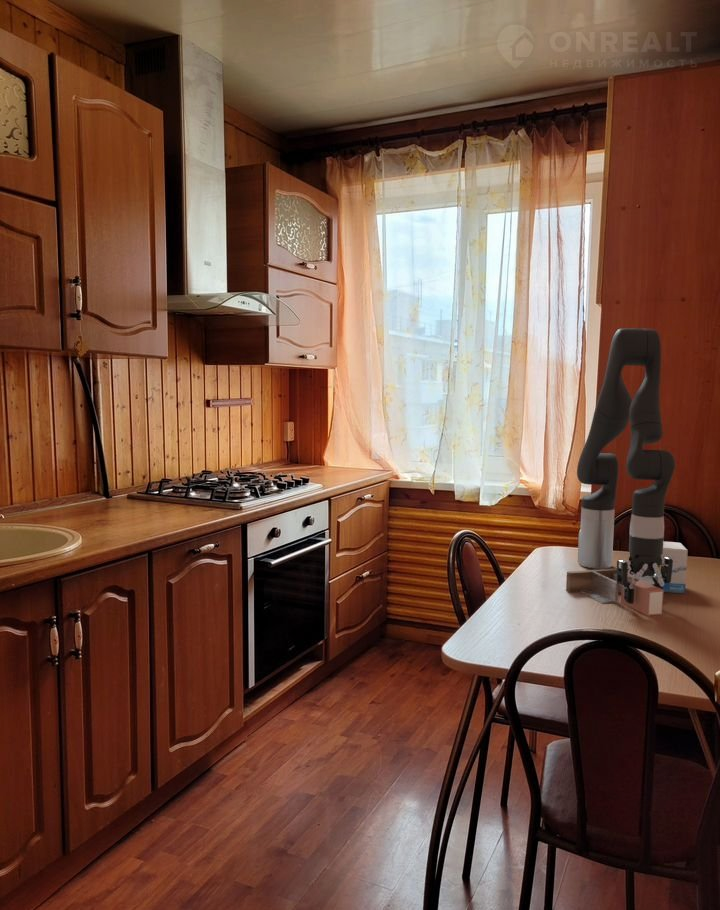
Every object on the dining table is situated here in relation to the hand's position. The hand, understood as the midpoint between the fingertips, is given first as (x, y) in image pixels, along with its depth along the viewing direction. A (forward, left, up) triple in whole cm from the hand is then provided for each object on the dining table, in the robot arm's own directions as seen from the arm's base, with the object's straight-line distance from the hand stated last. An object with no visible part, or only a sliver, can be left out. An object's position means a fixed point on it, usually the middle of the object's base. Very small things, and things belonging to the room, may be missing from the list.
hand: (642, 601), depth 167 cm
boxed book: (-1, 0, -2) cm, 2 cm away
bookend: (-11, -5, -2) cm, 12 cm away
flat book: (-11, +6, -2) cm, 12 cm away
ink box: (-13, +17, -2) cm, 22 cm away
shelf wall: (-16, 0, -2) cm, 17 cm away
